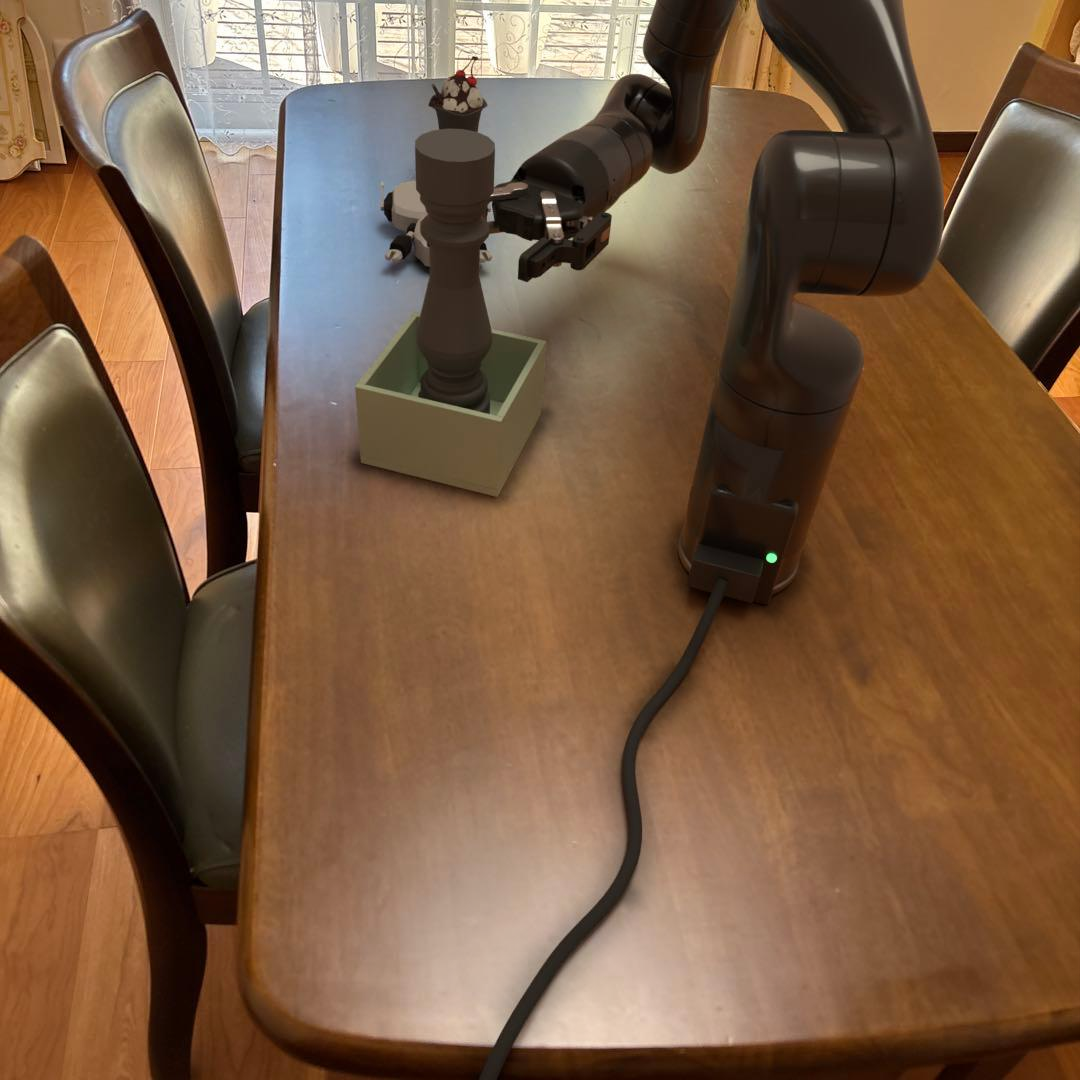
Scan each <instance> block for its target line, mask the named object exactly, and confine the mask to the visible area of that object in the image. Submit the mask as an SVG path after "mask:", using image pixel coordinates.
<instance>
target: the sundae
mask: <svg viewBox="0 0 1080 1080" xmlns="http://www.w3.org/2000/svg"><path fill="white" fill-rule="evenodd" d="M477 60H479V57H478V56H475V55H472V56H471V60H470V61H469V63H468V64H467V65H466V66H465V67H463V68H462V69H458V70H456V72H455V74H454V75H452V76H448V78H446V80H445V81H444V82H443V83H442V85H441V92H439V90H438V88H437V86H436V84H435V83H432V84H431V87H432V89H433V91H434V93H435V94H434V95H432V96H431V97H430V99H429V102H428V107H429V108H430V107H431V108H432V109H433V110H435V113H436V118H437V125H438V130H440V129H465V130H470V131H475V132H478V133H479V126H480V120H481V115H482V111H483V110H484V109H485V108H487V107H488V102H487V101H486V99H485V98H484V97H483V94H482V92H481V91H480V89H479V88H478V87H477V84H478V80H477V78H476V77H474V75H473V68H474V64H475V63H476V61H477ZM472 61H473V62H472ZM471 63H472V64H471ZM470 64H471V67H470V75H468V76H467V74H466V72H465V70H466V69H467V68H468V67H469V66H470ZM466 76H467V77H466Z"/></svg>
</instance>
